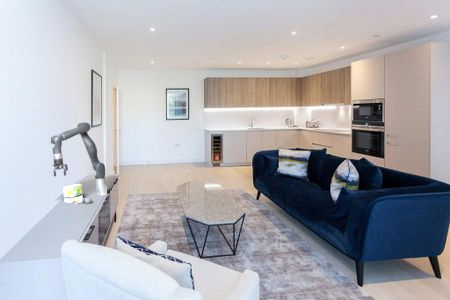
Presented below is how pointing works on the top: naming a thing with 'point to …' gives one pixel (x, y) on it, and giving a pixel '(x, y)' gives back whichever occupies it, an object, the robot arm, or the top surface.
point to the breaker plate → (79, 202)
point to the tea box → (72, 192)
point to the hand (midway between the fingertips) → (60, 175)
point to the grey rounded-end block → (87, 200)
